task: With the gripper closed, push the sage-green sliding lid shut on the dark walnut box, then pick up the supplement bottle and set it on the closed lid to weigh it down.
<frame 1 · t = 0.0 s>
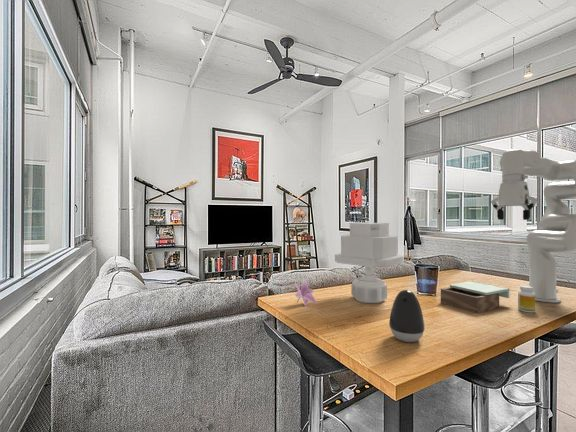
hand: (513, 219, 128), 37 cm above the table, tool pointing down, fingers open, 9 cm apart
lid: (478, 291, 133), point 5 cm above the table, slide at 6.0 cm
lily: (304, 304, 132), on the table
supplement bottle: (526, 311, 122), on the table
walnut box: (469, 305, 130), on the table
tiered cake on stand: (368, 299, 139), on the table
dark egg-shaped diffuser: (406, 339, 94), on the table
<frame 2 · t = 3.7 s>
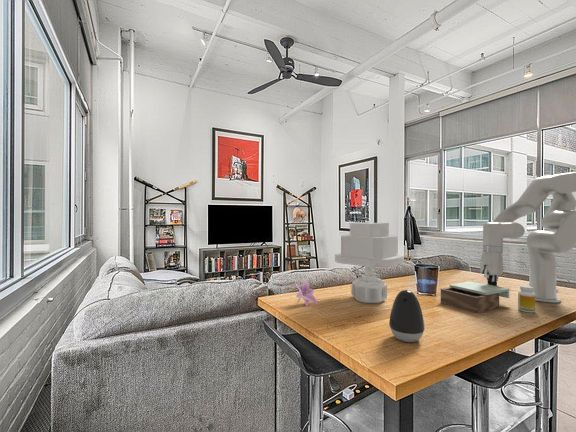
hand: (492, 289, 137), 5 cm above the table, tool pointing down, fingers closed
lid: (478, 291, 132), point 5 cm above the table, slide at 5.9 cm, touching gripper
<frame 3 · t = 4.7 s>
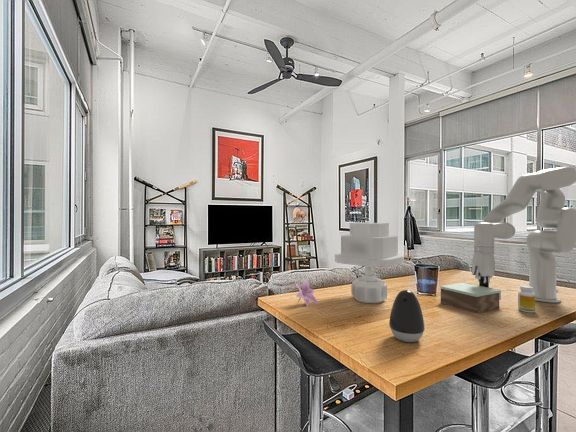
hand: (483, 291, 134), 5 cm above the table, tool pointing down, fingers closed
lid: (469, 292, 130), point 5 cm above the table, slide at -0.2 cm, touching gripper
everything else where it was.
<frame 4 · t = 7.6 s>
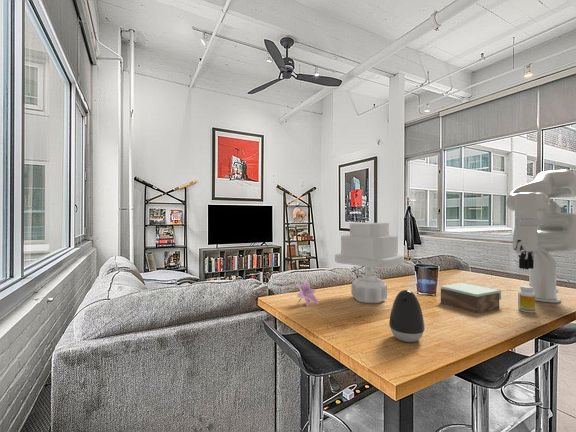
hand: (526, 268, 122), 17 cm above the table, tool pointing down, fingers closed
lid: (470, 292, 130), point 5 cm above the table, slide at 0.0 cm
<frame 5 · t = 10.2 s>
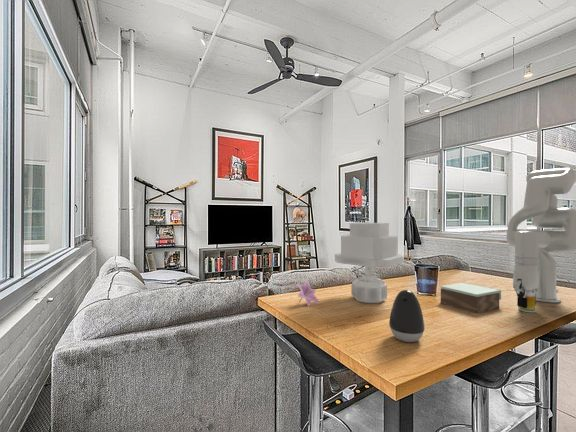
hand: (526, 305, 122), 2 cm above the table, tool pointing down, fingers closed on supplement bottle, 5 cm apart
supplement bottle: (526, 311, 122), on the table, touching gripper
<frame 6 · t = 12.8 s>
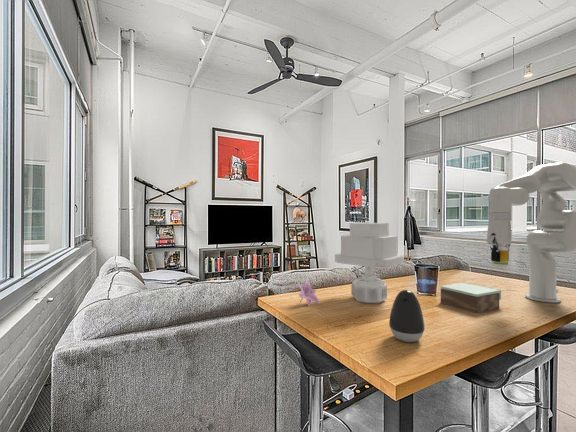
hand: (499, 260, 125), 20 cm above the table, tool pointing down, fingers closed on supplement bottle, 5 cm apart
supplement bottle: (500, 265, 125), point 18 cm above the table, touching gripper
when the fingers open (11 cm above the table, at t = 15.4 s): supplement bottle drops 2 cm, resting on lid.
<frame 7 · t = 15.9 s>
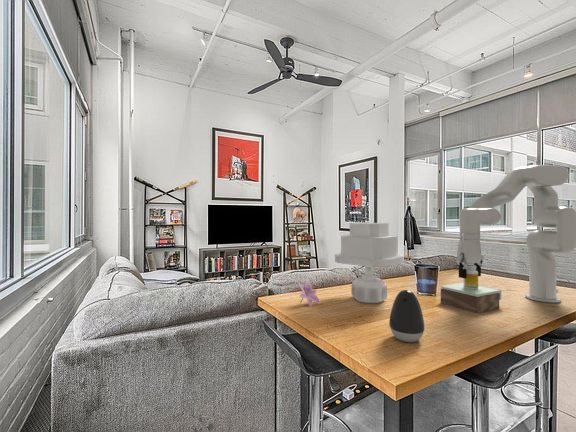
hand: (469, 276, 130), 12 cm above the table, tool pointing down, fingers open, 9 cm apart
lid: (470, 292, 130), point 5 cm above the table, slide at 0.1 cm, touching supplement bottle
supplement bottle: (470, 288, 130), point 7 cm above the table, touching lid
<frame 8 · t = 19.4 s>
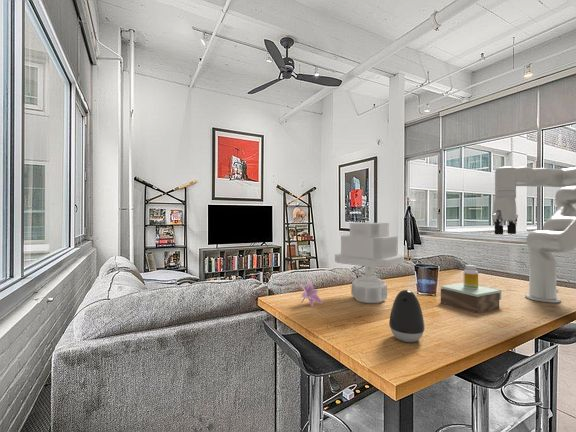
hand: (505, 234, 133), 30 cm above the table, tool pointing down, fingers open, 9 cm apart
at the end: lid slide at 0.1 cm; supplement bottle inside the target area on the walnut box (0.5 cm from its centre), point 7.1 cm above the walnut box's base; supplement bottle tilted 0° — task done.
